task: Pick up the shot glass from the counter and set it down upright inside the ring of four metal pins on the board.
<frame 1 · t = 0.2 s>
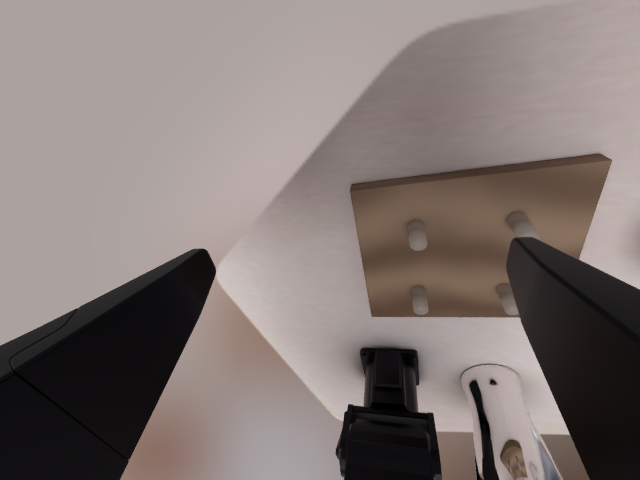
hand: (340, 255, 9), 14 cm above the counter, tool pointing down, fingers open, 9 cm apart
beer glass: (488, 377, 33), on the counter
pin board: (458, 249, 24), on the counter
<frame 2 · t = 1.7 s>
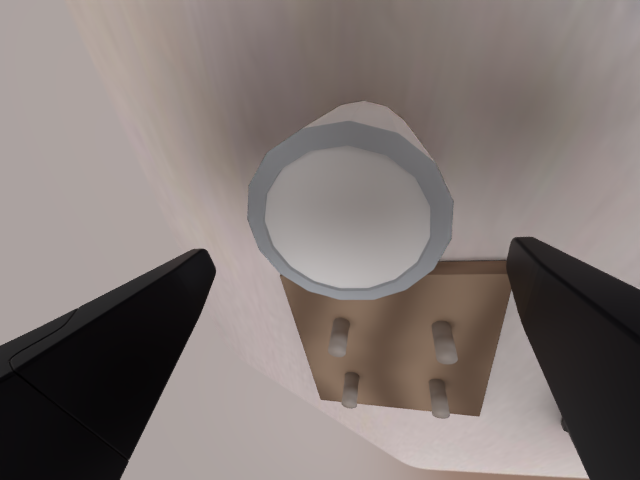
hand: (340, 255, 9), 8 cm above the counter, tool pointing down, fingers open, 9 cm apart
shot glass: (359, 157, 15), on the counter
pin board: (390, 340, 23), on the counter
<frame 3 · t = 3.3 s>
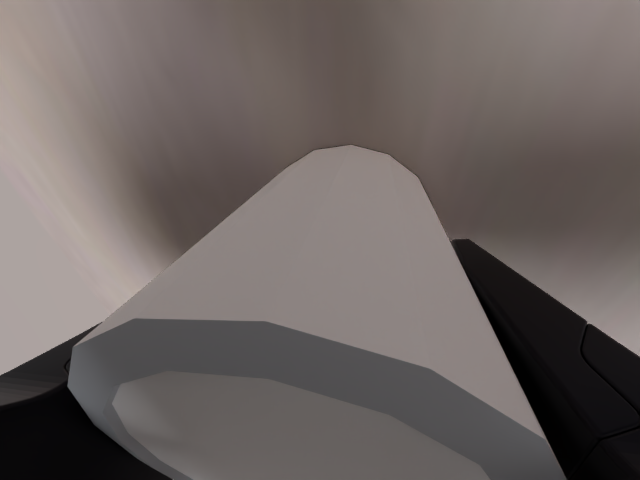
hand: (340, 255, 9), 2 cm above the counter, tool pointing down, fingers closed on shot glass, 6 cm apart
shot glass: (346, 225, 10), on the counter, touching gripper
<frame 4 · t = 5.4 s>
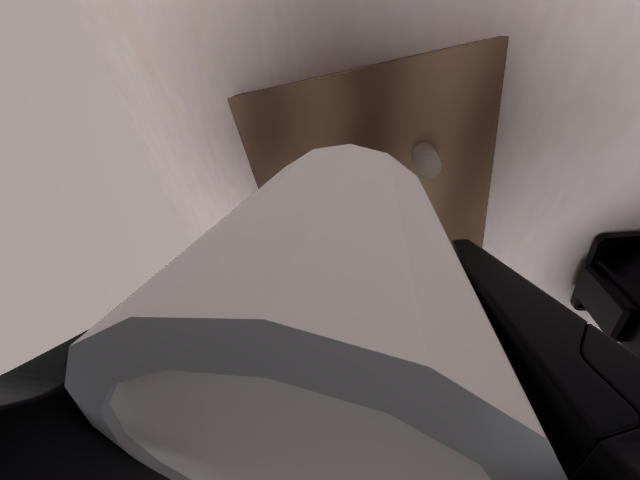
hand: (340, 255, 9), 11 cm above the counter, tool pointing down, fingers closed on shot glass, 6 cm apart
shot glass: (346, 224, 10), point 9 cm above the counter, touching gripper
pin board: (368, 202, 20), on the counter
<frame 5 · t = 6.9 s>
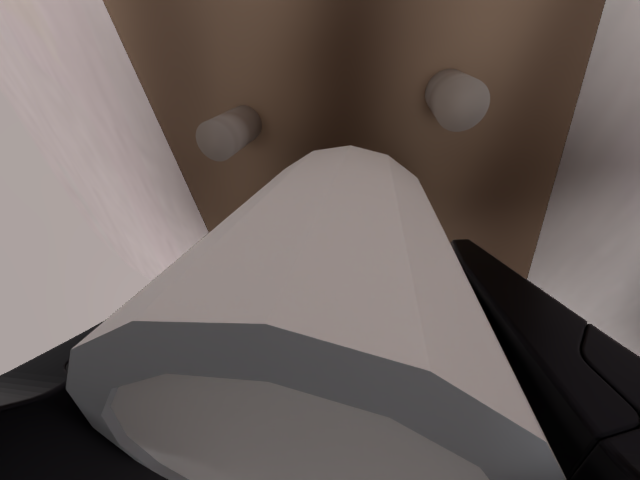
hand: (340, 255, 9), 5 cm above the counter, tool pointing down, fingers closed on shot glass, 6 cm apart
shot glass: (346, 225, 10), point 3 cm above the counter, touching gripper
pin board: (352, 186, 12), on the counter
when the fingers open (4 cm above the counter, at t = 7.9 s): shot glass drops 1 cm, resting on pin board.
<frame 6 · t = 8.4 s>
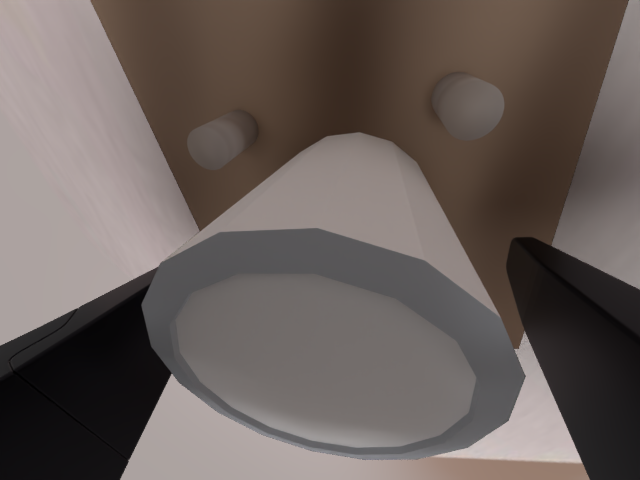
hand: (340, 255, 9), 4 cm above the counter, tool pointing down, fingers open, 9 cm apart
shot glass: (352, 205, 11), point 1 cm above the counter, touching pin board
pin board: (353, 194, 12), on the counter
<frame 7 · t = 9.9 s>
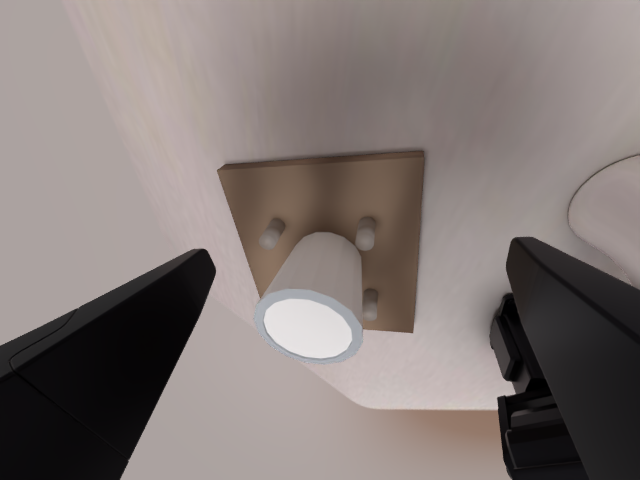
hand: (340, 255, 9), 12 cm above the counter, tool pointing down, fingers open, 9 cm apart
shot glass: (327, 259, 23), point 1 cm above the counter, touching pin board
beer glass: (625, 200, 18), on the counter
pin board: (328, 252, 24), on the counter
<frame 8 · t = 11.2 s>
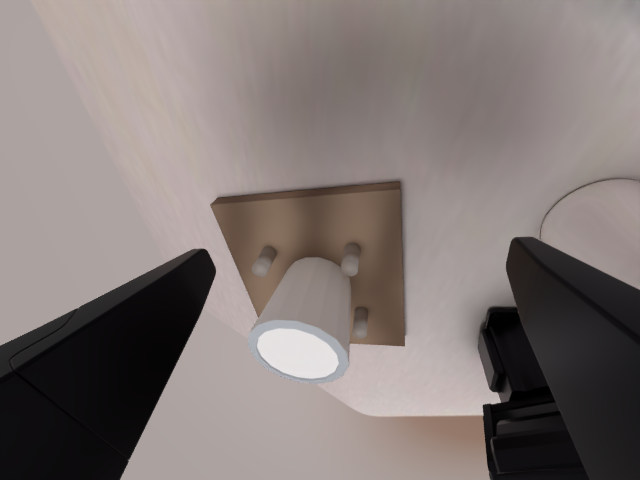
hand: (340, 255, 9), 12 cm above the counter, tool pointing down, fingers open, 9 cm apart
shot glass: (318, 281, 25), point 1 cm above the counter, touching pin board
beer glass: (594, 221, 19), on the counter
pin board: (320, 273, 25), on the counter
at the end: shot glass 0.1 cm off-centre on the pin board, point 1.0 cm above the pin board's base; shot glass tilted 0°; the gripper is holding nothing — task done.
